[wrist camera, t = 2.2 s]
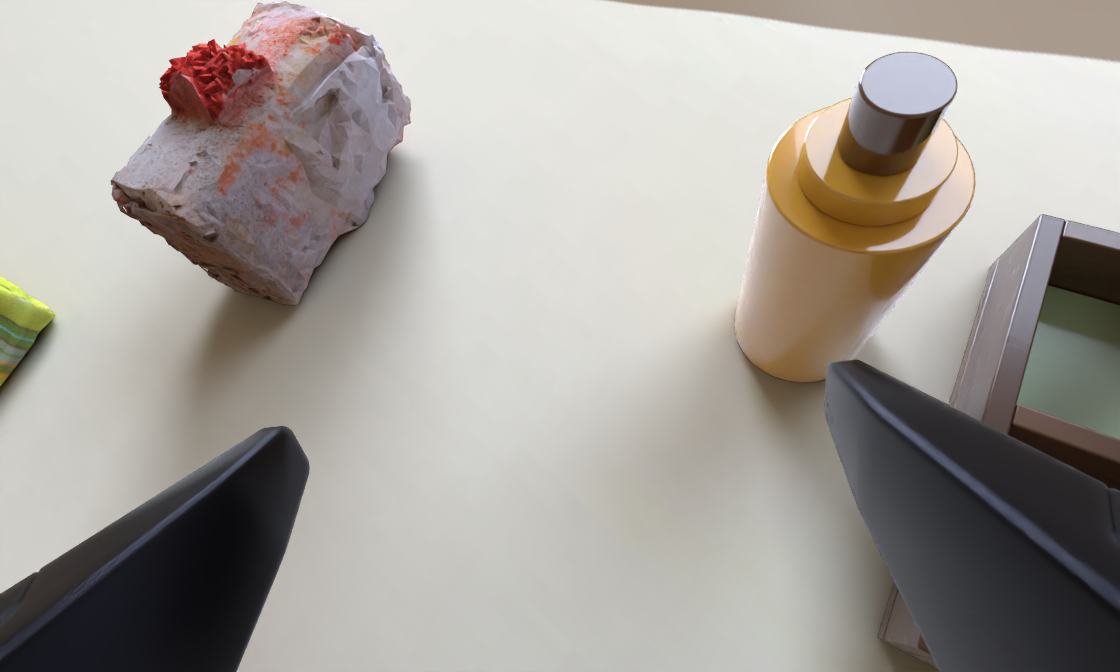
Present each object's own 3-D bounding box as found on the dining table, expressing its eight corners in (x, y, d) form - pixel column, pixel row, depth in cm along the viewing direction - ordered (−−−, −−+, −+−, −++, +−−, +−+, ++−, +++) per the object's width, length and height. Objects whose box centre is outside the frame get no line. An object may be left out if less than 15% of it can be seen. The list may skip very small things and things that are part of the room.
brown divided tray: (877, 637, 19) (917, 648, 16) (991, 263, 24) (1041, 212, 20) (1183, 796, 16) (1309, 849, 13) (1247, 335, 21) (1353, 289, 17)
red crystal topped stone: (333, 107, 36) (221, -50, 27) (437, 126, 33) (350, -40, 24) (212, 285, 32) (31, 168, 23) (320, 323, 29) (165, 207, 20)
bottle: (886, 312, 24) (1089, 45, 12) (820, 407, 23) (972, 214, 11) (775, 254, 26) (857, -21, 14) (710, 339, 25) (740, 116, 13)
